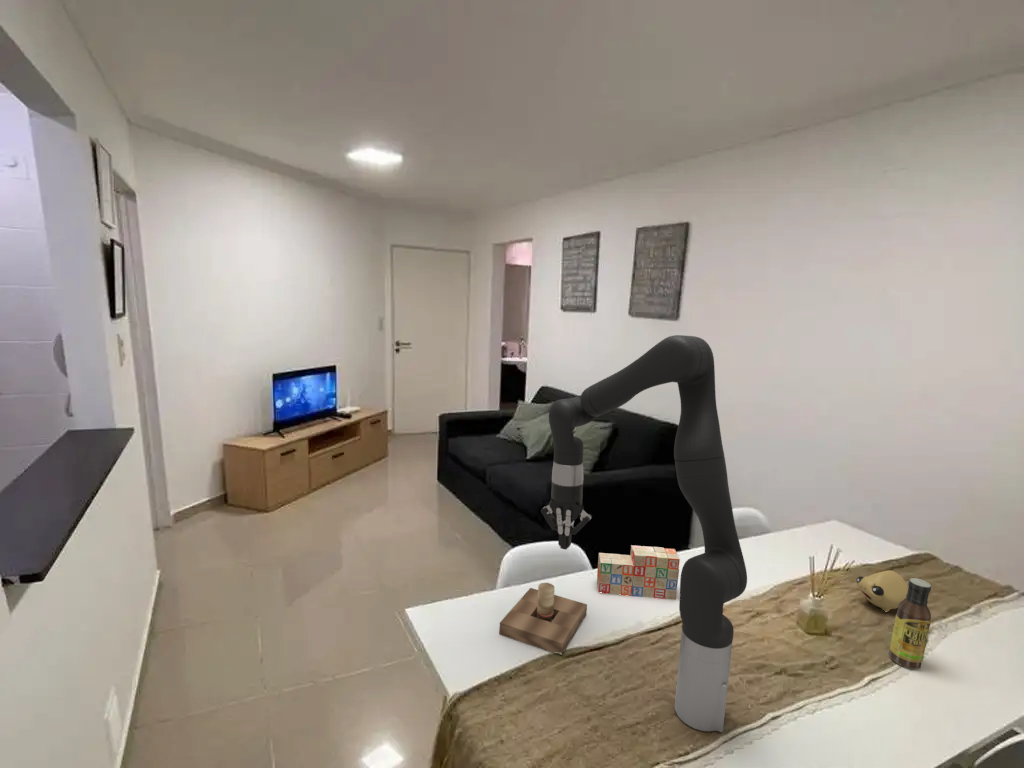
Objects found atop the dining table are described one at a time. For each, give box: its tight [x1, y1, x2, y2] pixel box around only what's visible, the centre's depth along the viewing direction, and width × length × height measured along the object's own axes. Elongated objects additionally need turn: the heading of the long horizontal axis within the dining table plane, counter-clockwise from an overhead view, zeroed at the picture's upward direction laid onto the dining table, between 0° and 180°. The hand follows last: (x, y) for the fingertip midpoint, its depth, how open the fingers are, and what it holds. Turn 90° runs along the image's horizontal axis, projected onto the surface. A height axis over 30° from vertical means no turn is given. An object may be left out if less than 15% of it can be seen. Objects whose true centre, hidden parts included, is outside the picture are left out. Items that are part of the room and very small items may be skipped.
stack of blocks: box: [596, 544, 681, 601], centre depth 146 cm, size 21×6×12 cm, turn 85°
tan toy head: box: [855, 570, 909, 612], centre depth 143 cm, size 10×12×11 cm
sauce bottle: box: [888, 577, 932, 670], centre depth 119 cm, size 6×6×20 cm
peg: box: [537, 582, 556, 622], centre depth 129 cm, size 4×4×10 cm
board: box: [498, 587, 588, 653], centre depth 129 cm, size 16×18×3 cm
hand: (564, 547), depth 128 cm, fingers closed
